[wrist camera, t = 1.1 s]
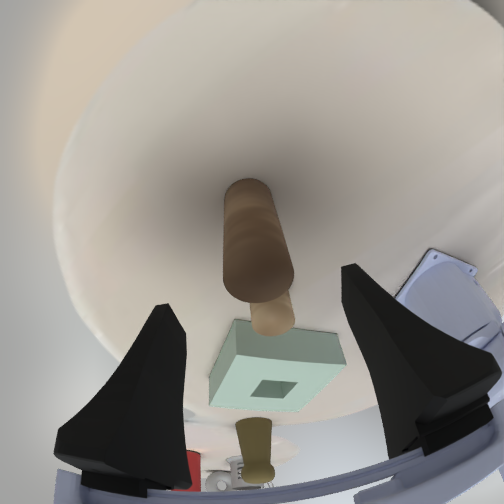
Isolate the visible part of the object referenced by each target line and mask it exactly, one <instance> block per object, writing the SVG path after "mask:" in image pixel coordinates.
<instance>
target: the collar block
mask: <svg viewBox="0 0 504 504" xmlns="http://www.w3.org/2000/svg"><path fill="white" fill-rule="evenodd" d="M346 365H347V364H346V361H345V357H344V354H343V351H342V348H341V345H340V342H339V339H338V336H337V334H334V333H326V332H318V331H310V330H302V329H295V328H291V329H290V330H289V331H287V332H286V333H284V334H281V335H278V336H263V335H260V334H258V333H256V332H255V331H254V330H253V328H252V322H249V321H243V320H238V319H235V320H234V323H233V325H232V327H231V329H230V332H229V334H228V336H227V338H226V341H225V343H224V345H223V347H222V350H221V352H220V354H219V356H218V359H217V361H216V363H215V365H214V368H213V370H212V372H211V374H210V376H209V406H211V407H220V408H230V409H242V410H256V411H278V412H299V411H300V410H301V409H302V408H303V407H304V406H305V405H306V404H307V403H309V402H310V401H311V400H312V399H313V398H314V397H315V396H316V395H317V394H318V393H319V392H320V391H321V390H322V389H323V388H324V387H325V386H326V385H327V384H328V383H329V382H330V381H331V380H332V379H333V378H334V377H335V376H336V375H337V374H338V373H339V372H340V371H341V370H342V369H343V368H344V367H345V366H346Z"/></svg>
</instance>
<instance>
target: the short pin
mask: <svg viewBox="0 0 504 504" xmlns="http://www.w3.org/2000/svg"><path fill="white" fill-rule="evenodd" d="M250 311H251V321H252V328H253V330H254V331H255V332H256V333H258V334H260V335H263V336H278V335H281V334H284V333H286V332H287V331H289V330H290V329H291V328H292V327H293V325H294V323H295V317H294V312H293V308H292V304H291V299H290V295H289V291H288V290H287V291H286V292H285V293H284V294H283V295H281V296H280V297H278V298H276V299H274V300H271V301H268V302H264V303H250Z"/></svg>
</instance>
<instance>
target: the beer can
mask: <svg viewBox="0 0 504 504" xmlns="http://www.w3.org/2000/svg"><path fill="white" fill-rule="evenodd" d="M186 451H187V458H188V464H189V469H190V474H191V479H192V483H193V485H192V486H191V487H190V488H189V489H188V490H178V489H174V490H171V491H188V492H201V480H200V479H201V470H200V455H199V454H198V453H196V452H194V451H189V450H186Z"/></svg>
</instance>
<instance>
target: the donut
mask: <svg viewBox="0 0 504 504" xmlns="http://www.w3.org/2000/svg"><path fill="white" fill-rule="evenodd" d="M219 481H224V482H225V483H226V486H227V487H226V489H225V490H220V489H218V487H217V483H218V482H219ZM205 485H206V490H207V492H221V491H237V490H233V489H232V484H231V474H229V473H228V472H224V471H216V472H214V473H212V474H210V475H209V476H208V478H207V479H206V483H205Z"/></svg>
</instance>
